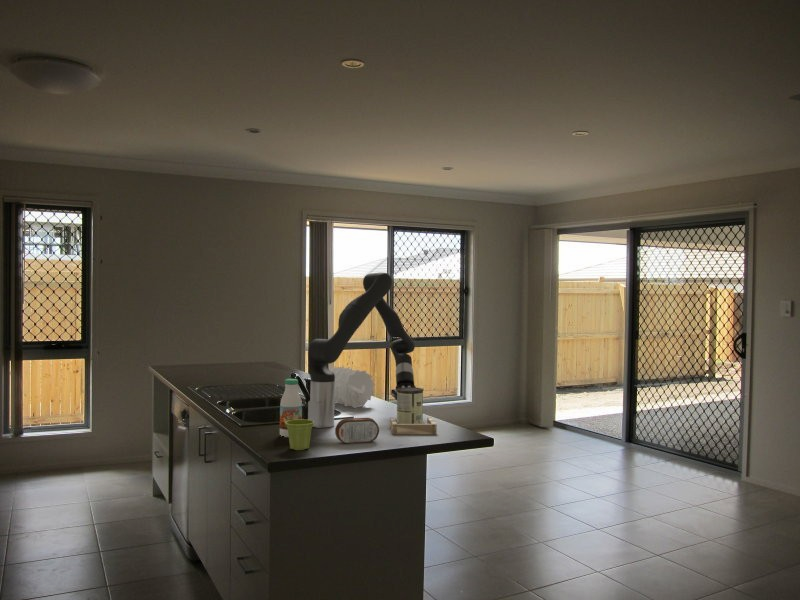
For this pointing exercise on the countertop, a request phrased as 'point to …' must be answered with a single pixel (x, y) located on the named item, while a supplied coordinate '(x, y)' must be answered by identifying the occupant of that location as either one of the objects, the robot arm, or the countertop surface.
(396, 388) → the robot arm
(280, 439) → the countertop surface
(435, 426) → the wooden tray
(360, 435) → the tin
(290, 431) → the plant pot
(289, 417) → the milk bottle
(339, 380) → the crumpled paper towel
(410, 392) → the coffee can
